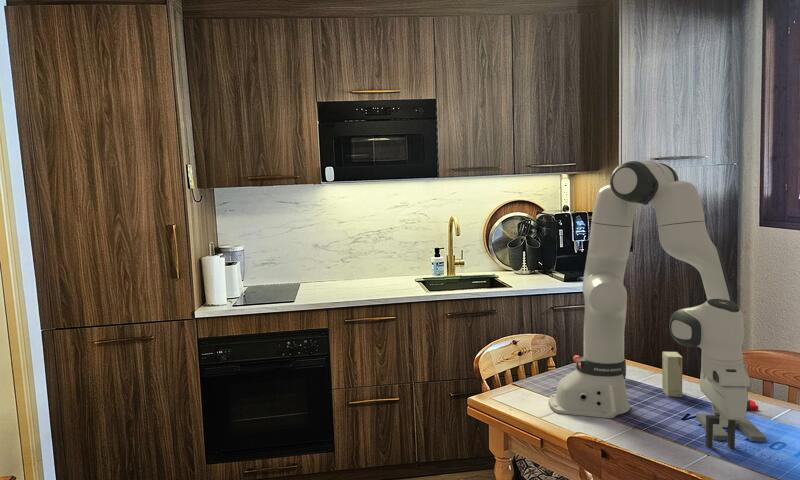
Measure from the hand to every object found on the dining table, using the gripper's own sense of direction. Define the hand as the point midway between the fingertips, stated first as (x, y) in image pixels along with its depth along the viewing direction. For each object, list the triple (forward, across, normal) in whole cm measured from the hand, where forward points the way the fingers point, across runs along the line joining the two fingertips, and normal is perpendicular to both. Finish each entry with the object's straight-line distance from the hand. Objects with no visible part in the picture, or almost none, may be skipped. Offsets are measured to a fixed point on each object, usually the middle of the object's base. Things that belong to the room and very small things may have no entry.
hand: (720, 423), depth 147 cm
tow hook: (+6, -29, +15) cm, 33 cm away
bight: (+6, 0, 0) cm, 6 cm away
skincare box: (+6, -37, -1) cm, 38 cm away
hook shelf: (+6, -11, +6) cm, 14 cm away
